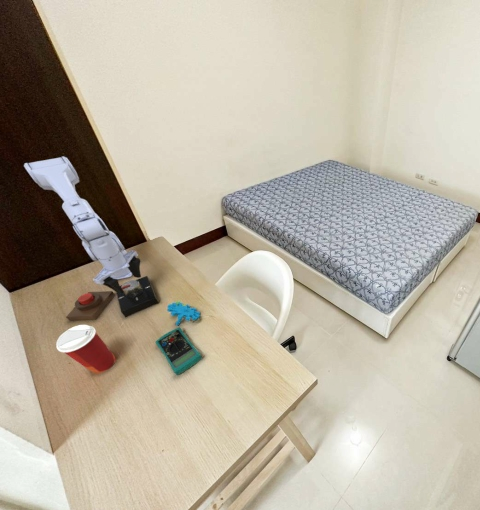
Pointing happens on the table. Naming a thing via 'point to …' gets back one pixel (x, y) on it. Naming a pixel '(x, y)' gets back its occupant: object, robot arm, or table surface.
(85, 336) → the paper cup
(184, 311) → the blue toy tree
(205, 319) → the table surface
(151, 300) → the dial panel
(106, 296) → the button block
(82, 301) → the button
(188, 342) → the digital multimeter
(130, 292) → the dial
